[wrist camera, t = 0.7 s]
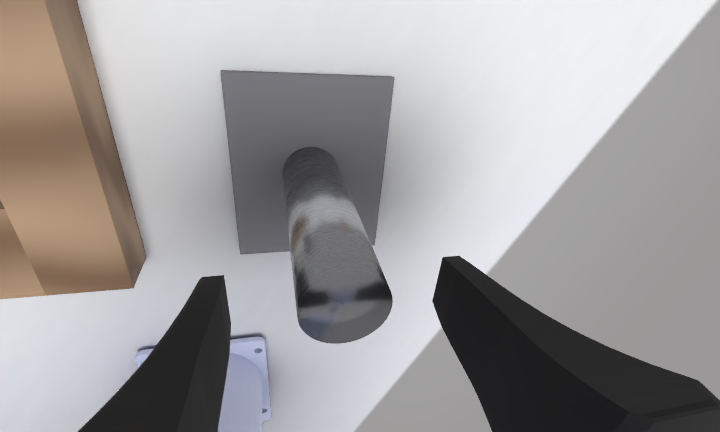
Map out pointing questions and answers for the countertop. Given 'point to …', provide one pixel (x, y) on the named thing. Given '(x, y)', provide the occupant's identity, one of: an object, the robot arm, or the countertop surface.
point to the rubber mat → (302, 143)
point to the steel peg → (330, 253)
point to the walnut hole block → (58, 162)
